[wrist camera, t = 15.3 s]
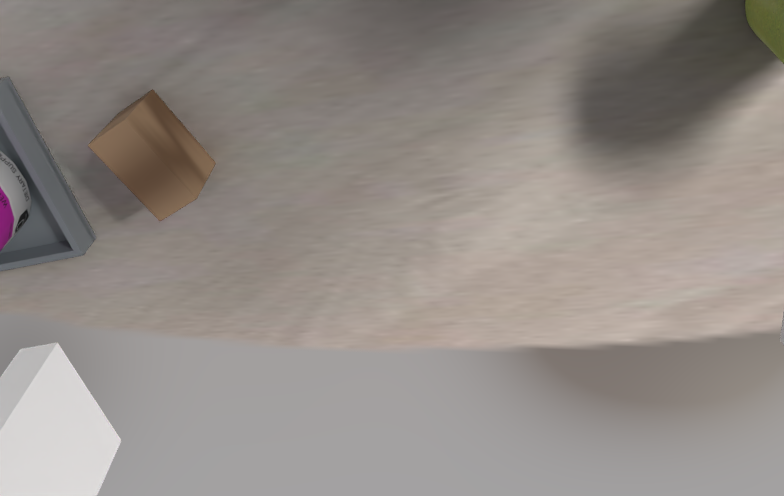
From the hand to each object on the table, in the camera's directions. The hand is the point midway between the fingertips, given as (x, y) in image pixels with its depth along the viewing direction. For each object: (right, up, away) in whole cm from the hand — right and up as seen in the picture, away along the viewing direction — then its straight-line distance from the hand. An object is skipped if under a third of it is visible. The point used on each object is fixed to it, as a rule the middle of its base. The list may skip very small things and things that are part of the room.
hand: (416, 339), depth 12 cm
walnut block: (-15, +9, +31) cm, 36 cm away
